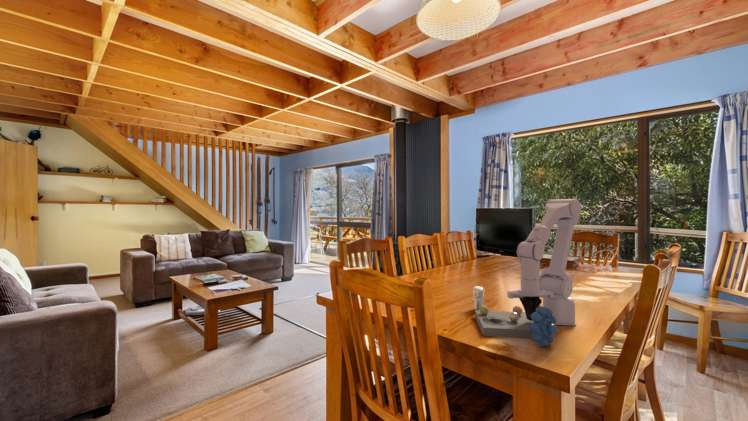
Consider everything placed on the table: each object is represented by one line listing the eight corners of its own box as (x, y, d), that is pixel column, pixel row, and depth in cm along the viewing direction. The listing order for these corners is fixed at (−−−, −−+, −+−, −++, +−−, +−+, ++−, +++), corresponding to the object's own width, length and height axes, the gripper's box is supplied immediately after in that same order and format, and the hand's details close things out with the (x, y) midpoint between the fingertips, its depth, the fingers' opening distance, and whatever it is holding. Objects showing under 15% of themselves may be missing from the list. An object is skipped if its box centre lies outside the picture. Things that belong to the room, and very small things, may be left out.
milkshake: (480, 312, 125) (480, 286, 125) (470, 308, 130) (470, 283, 130) (488, 310, 127) (488, 285, 127) (478, 307, 132) (478, 282, 132)
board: (529, 319, 117) (529, 312, 117) (547, 339, 99) (547, 331, 99) (475, 316, 120) (475, 310, 120) (483, 335, 102) (483, 327, 102)
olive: (488, 313, 116) (487, 304, 116) (489, 316, 113) (489, 306, 113) (478, 312, 117) (478, 303, 117) (480, 315, 114) (480, 306, 114)
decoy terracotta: (521, 313, 115) (521, 304, 115) (523, 316, 112) (523, 307, 112) (511, 313, 116) (511, 304, 116) (514, 316, 113) (513, 307, 113)
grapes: (546, 357, 87) (546, 312, 87) (523, 348, 93) (523, 306, 93) (569, 347, 93) (569, 305, 93) (546, 339, 99) (546, 300, 99)
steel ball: (518, 320, 108) (518, 310, 108) (520, 323, 105) (520, 313, 105) (508, 319, 109) (507, 310, 109) (510, 323, 106) (510, 313, 106)
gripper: (544, 275, 111) (544, 315, 111) (503, 276, 110) (503, 316, 110) (557, 280, 104) (557, 322, 104) (513, 280, 103) (513, 323, 103)
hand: (530, 319), depth 106 cm, fingers closed
